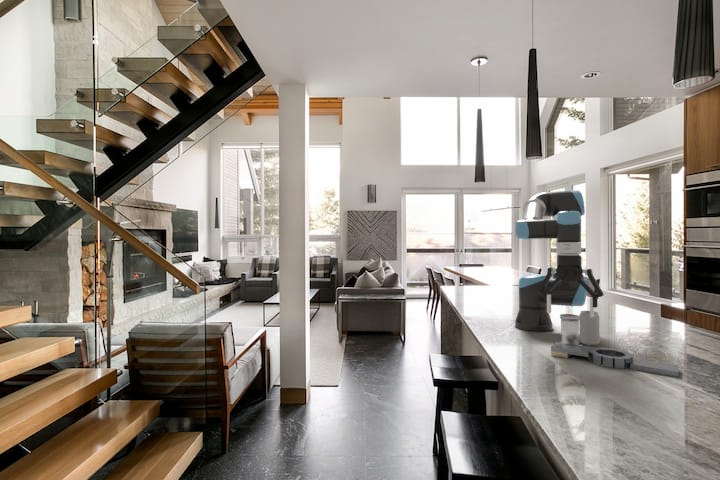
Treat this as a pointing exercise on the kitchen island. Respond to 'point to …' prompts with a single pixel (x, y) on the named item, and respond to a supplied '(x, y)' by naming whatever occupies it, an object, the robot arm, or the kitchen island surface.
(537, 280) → the robot arm
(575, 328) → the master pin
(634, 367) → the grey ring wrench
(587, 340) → the beverage can
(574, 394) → the kitchen island surface
